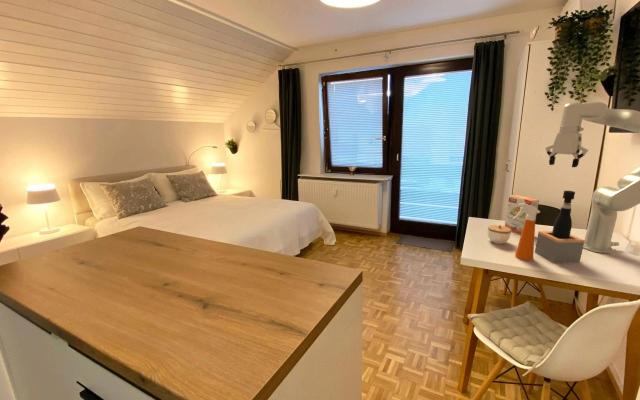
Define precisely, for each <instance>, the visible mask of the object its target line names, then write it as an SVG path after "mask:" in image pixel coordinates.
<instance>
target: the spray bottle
mask: <svg viewBox="0 0 640 400" xmlns="http://www.w3.org/2000/svg"><path fill="white" fill-rule="evenodd" d="M519 206H521V208H520V209H521V210H520V212H519V213H518V214H517V215H516V216H515V217H514V218H513V219H515V218H518V217H519V216H521V215H522V214H524V213H525V212H528V215H527V216H526V220H525V223H524V227H523V230H522V234H520V238H519V241H518V244H517V247H516V251H515V254H514V255H515V258H517V259H519V260H522V261H533V260H534V253H535V237H536V236H535V233H536V220H537V215H536V216H535V214H536V213H537V214H539V213H541V211H540V210H539V208H538V209H536V208H534V207H532V206H530V205H527V204H524V203H523V204H522V203H519ZM524 210H526V211H524ZM535 219H536V220H535Z"/></svg>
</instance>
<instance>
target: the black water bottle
mask: <svg viewBox="0 0 640 400" xmlns="http://www.w3.org/2000/svg"><path fill="white" fill-rule="evenodd" d="M575 194H576V191H572V190H564V191H563V195H562V199H564V200H563V202H562V203H561V207H560V210H559V214H558V215H557V216H556V218H555V220H554V223H553V228H552V230H551V231H552V236H554V237H556V238H558V239H569V237H570V234H571V231H572V227H573V226H572V225H573V222H572V217H571V216H572V215H571V213H572V200H575Z"/></svg>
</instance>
